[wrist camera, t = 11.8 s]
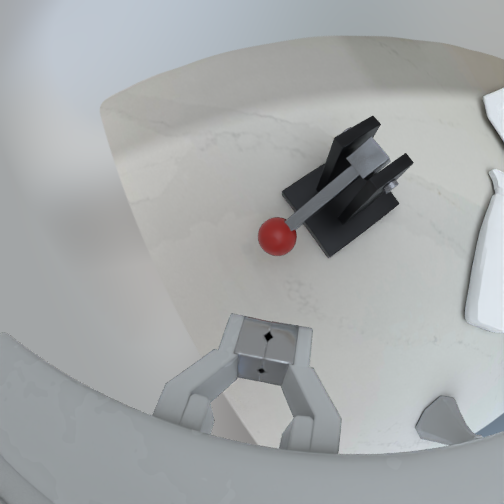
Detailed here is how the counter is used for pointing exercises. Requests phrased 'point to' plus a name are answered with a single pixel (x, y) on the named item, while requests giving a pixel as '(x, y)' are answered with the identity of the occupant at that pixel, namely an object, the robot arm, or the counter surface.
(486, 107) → the plate
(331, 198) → the lever
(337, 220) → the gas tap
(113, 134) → the counter surface
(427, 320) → the counter surface
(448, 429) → the flask
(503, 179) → the spray bottle
